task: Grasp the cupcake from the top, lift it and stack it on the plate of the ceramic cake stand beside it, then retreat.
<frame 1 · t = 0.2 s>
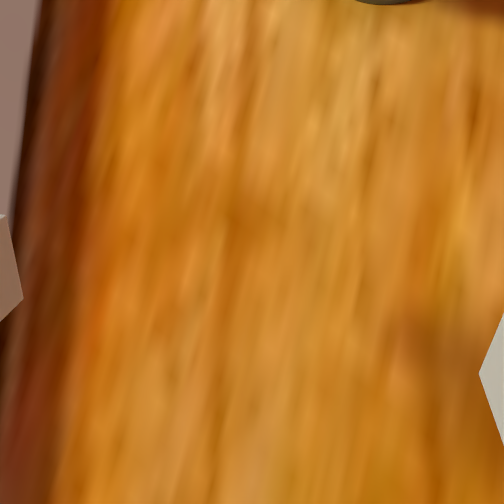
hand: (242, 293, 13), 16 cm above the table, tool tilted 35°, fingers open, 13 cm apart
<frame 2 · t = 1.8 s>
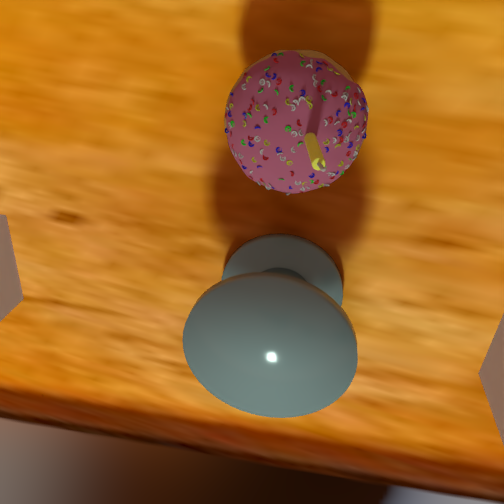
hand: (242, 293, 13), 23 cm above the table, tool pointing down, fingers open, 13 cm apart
cake stand: (281, 287, 40), on the table
cupcake: (300, 108, 33), on the table
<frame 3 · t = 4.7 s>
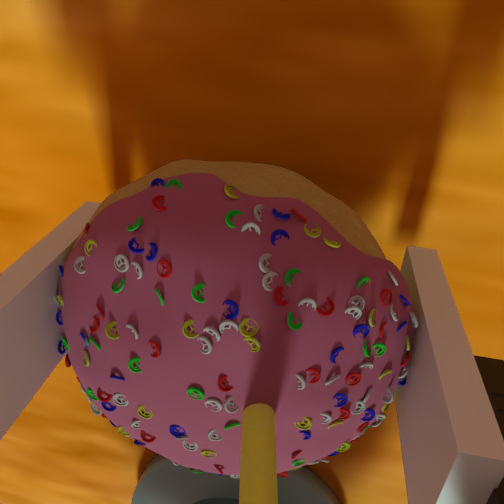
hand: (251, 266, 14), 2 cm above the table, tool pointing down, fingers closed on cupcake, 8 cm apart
cupcake: (258, 244, 16), on the table, touching gripper
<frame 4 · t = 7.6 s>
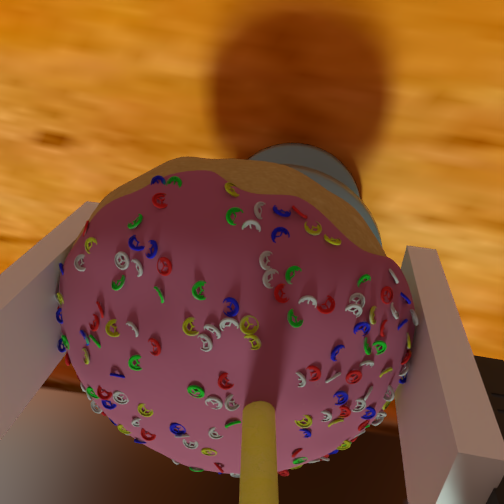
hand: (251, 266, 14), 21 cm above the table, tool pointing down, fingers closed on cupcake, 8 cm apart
cake stand: (292, 208, 36), on the table
cupcake: (258, 242, 16), point 19 cm above the table, touching gripper
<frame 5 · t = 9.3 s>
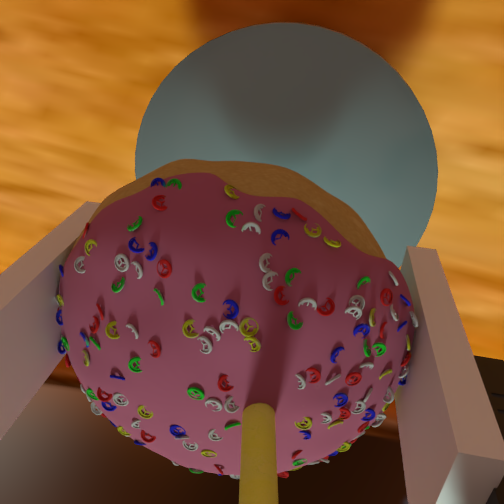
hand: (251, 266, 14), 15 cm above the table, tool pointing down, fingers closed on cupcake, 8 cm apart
cake stand: (296, 133, 26), on the table
cupcake: (258, 243, 16), point 12 cm above the table, touching gripper
when the fingers open (12 cm above the table, at t = 10.7 s): cupcake drops 1 cm, resting on cake stand.
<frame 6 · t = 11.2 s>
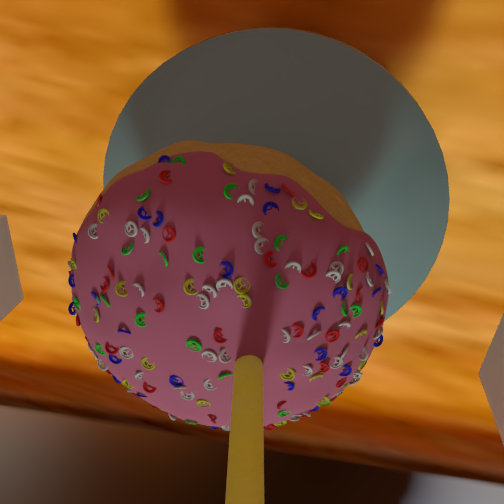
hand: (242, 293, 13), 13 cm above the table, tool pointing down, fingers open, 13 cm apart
cake stand: (289, 147, 24), on the table
cupcake: (251, 225, 17), point 8 cm above the table, touching cake stand
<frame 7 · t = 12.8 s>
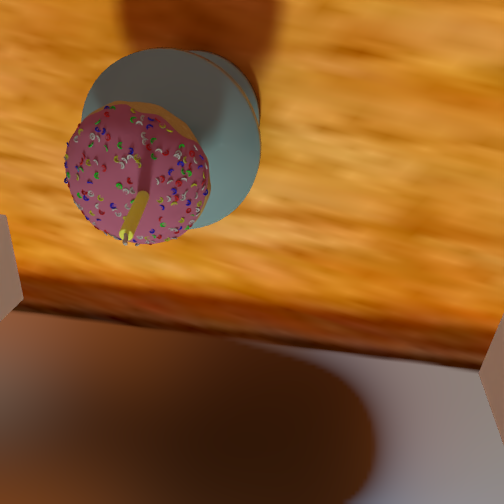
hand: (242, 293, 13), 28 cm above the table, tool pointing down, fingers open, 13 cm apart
cake stand: (199, 116, 38), on the table
cupcake: (162, 152, 32), point 8 cm above the table, touching cake stand
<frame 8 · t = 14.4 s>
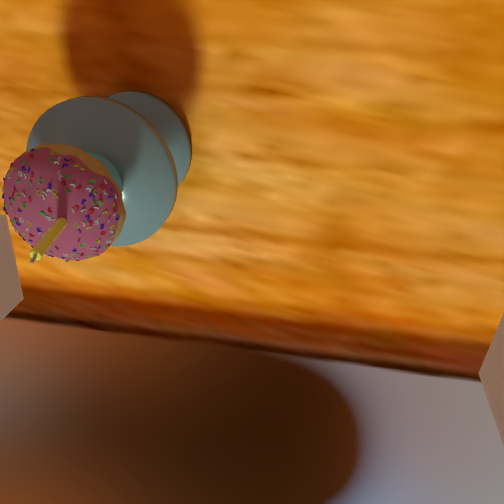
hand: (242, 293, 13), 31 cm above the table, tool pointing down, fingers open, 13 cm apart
cake stand: (139, 146, 44), on the table
cupcake: (94, 181, 37), point 8 cm above the table, touching cake stand
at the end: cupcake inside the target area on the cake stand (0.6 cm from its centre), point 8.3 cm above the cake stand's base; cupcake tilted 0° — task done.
